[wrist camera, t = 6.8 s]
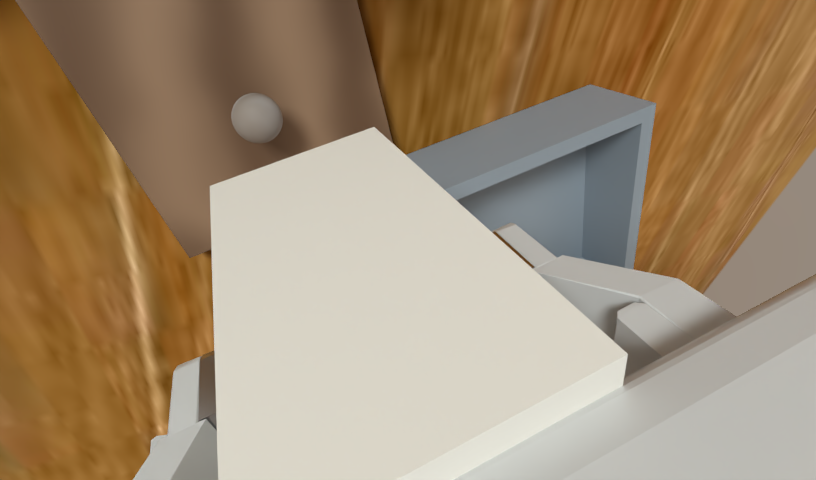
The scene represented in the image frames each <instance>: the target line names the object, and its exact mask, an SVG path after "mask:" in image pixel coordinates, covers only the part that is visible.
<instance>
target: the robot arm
mask: <svg viewBox="0 0 816 480" xmlns="http://www.w3.org/2000/svg"><path fill="white" fill-rule="evenodd" d="M492 233H493V234H494V235H496V236H497V237H498V238H499V239H500V240H501V241H502V242H503V243H504V244H506V245H507V246H508V247H509V248H510V249H511V250H512V251H513V252H515V253H516V254H517V255H518V256H519V257H520V258H521V259H522V260H523V261H525V262H526V263H527V264H528V265H529V266H530V267H531V268H532V269H534V270H535V271H536V272H537V273H538V274H539V275H540V276H541V277H542V278H544V279H545V280H546V281H547V282H548V283H549V284H550V285H551V286H552V287H554V288H555V289H556V290H557V291H558V292H559V293H560V294H561V295H563V296H564V297H565V298H566V299H567V300H568V301H569V302H570V303H571V304H573V305H574V306H575V307H576V308H577V309H578V310H579V311H580V312H582V313H583V314H584V315H585V316H586V317H587V318H588V319H589V320H590V321H592V322H593V323H594V324H595V325H596V326H597V327H598V328H599V329H601V330H602V331H603V332H604V333H605V334H606V335H607V336H608V337H609V338H611V339H612V340H613V341H614V342H615V343H616V344H617V345H618V346H620V347H621V348H622V349H623V350H624V351H625V352H626V353H627V354H628V357H627V363H626V369H625V375H624V381H623V386H621V387H619V388H618V389H616V390H614V391H612V392H610V393H609V394H607V395H605V396H603V397H601V398H600V399H598V400H596V401H594V402H592V403H591V404H589V405H587V406H585V407H583V408H582V409H580V410H578V411H576V412H574V413H572V414H571V415H569V416H567V417H565V418H563V419H562V420H560V421H558V422H556V423H554V424H553V425H551V426H549V427H547V428H545V429H544V430H542V431H540V432H538V433H536V434H535V435H533V436H531V437H529V438H527V439H526V440H524V441H522V442H520V443H519V444H517V445H515V446H513V447H511V448H510V449H508V450H506V451H504V452H502V453H501V454H499V455H497V456H495V457H493V458H492V459H490V460H488V461H486V462H484V463H483V464H481V465H479V466H477V467H475V468H474V469H472V470H470V471H468V472H466V473H465V474H463V475H461V476H459V477H457V478H456V479H454V480H816V274H815V275H813V276H811V277H809V278H808V279H806V280H804V281H802V282H800V283H799V284H797V285H795V286H793V287H791V288H789V289H787V290H785V291H784V292H782V293H780V294H778V295H776V296H774V297H772V298H771V299H769V300H767V301H765V302H763V303H761V304H760V305H758V306H756V307H754V308H752V309H750V310H748V311H747V312H745V313H743V314H741V315H739V316H737V317H736V316H734V315H733V314H732V313H730V312H728V311H727V310H725V309H724V308H722V307H721V306H719V305H718V304H716V303H715V302H713V301H712V300H710V299H708V298H707V297H706V296H704V295H702V294H701V293H699V292H698V291H696V290H695V289H693V288H692V287H690V286H689V285H687V284H686V283H684V282H683V281H681V280H679V279H677V278H672V277H667V276H662V275H657V274H652V273H647V272H643V271H638V270H633V269H628V268H623V267H618V266H613V265H608V264H604V263H599V262H594V261H589V260H584V259H579V258H574V257H570V256H565V255H562V256H560V257H556V256H555V255H553V254H552V253H551V252H550V251H548V250H547V249H546V248H545V247H543V246H542V245H541V244H540V243H538V242H537V241H536V240H535V239H533V238H532V237H531V236H530V235H528V234H527V233H526V232H525V231H523V230H522V229H521V228H520V227H518V226H517V225H516V224H514V223H509V224H507V225H504V226H502V227H500V228H498V229H496V230H493V231H492ZM133 480H218V455H217V421H216V386H215V352H214V351H212V352H209V353H207V354H204V355H202V356H201V357H198V358H195V359H193V360H191V361H188V362H186V363H183V364H181V365H178V366H177V367H176V369H175V370H174V373H173V382H172V393H171V404H170V414H169V425H168V435H167V437H165V438H163V439H160V440H159V441H158V443H157V444H156V446H155V447H154V449H153V450H152V452H151V453H150V455H149V456H148V458H147V459H146V461H145V462H144V464H143V465H142V467H141V468H140V470H139V471H138V473H137V474H136V476H135V477H134V479H133Z"/></svg>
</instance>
